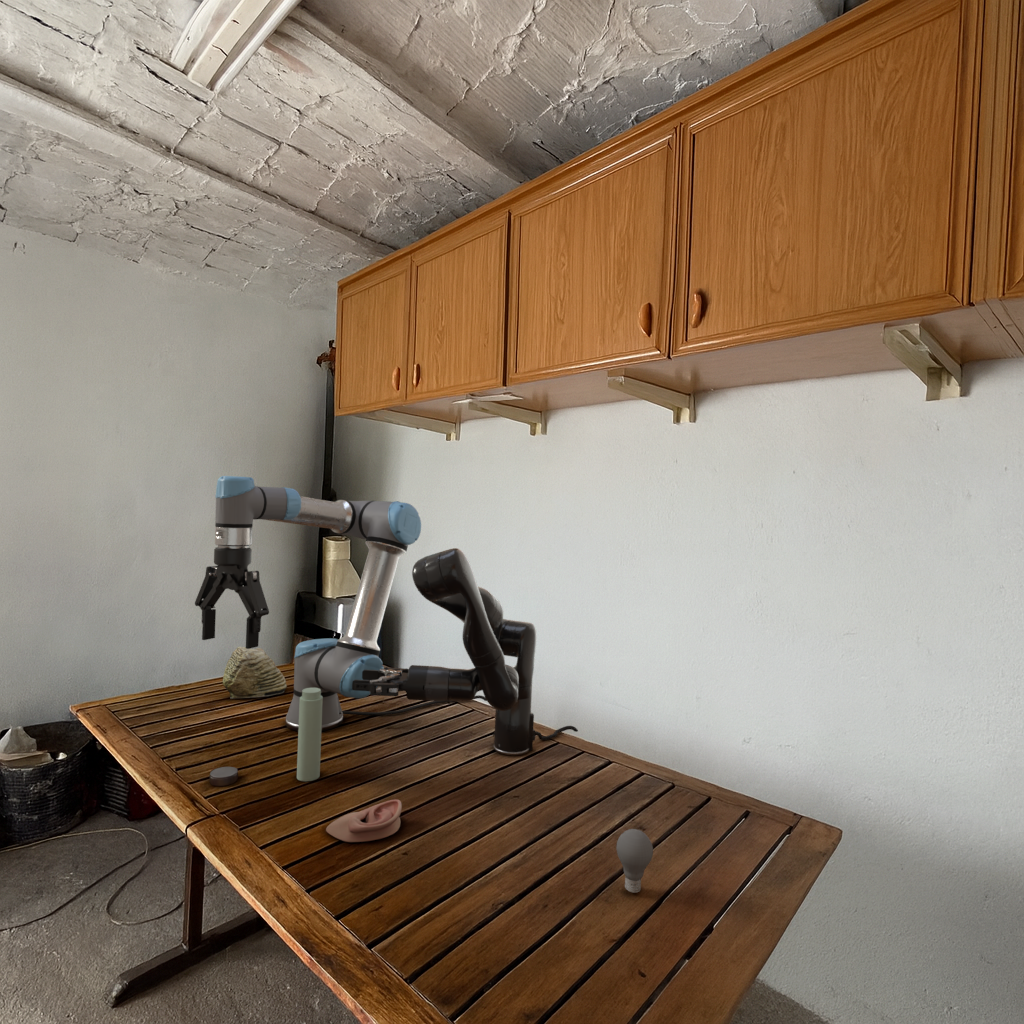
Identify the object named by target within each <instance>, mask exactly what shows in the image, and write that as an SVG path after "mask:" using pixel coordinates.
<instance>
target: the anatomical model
mask: <svg viewBox="0 0 1024 1024" xmlns="http://www.w3.org/2000/svg"><path fill="white" fill-rule="evenodd" d="M402 808H403V804H402V802H401V800H399V799H391V800H387V801H383V802H380V803H377V804H374V805H372V806H370V807H367V808H365V809H362V810H360V811H353V812H350V813H347V814H344V815H342V816H340V817H338V818H337V819H335V820H333V821H332V822H330V823H329V825H327V826H326V828H325V832H326V833H327V834H329V835H330V836H332V837H333V838H335V839H338V840H340V841H342V842H345V843H360V842H361V843H363V842H371V841H375V840H381V839H384V838H387V837H389V836H392V835H394V834H395V833H397V832H398V831H399V829H400V827H401V824H402V823H401V817H400V816H401V813H402Z"/></svg>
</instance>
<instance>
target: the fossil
mask: <svg viewBox="0 0 1024 1024" xmlns="http://www.w3.org/2000/svg"><path fill="white" fill-rule="evenodd" d="M222 676H223V677H222V685H223V687H224V688H225V690H226V691H228V693H229V698H230V699H250V698H264V697H271V696H275V695H281V694H284V693H285V691H286V689H287V687H288V686H287V680H286V678H285V676H284V674H283V673H282V672H281V669H279V668H278V667H277V665H276V663H275V662H274V660H273V659H272V658H271V657H270V656H269V655H268V654H267V653H266V652H265V650H264V649H263V648H260V647H256V648H250V649H246V646H238V647H237V648H236V649H235V650H233V651H232V653H231V656H230V657H229V659H228V660H227V663H226V666H225V668H224V671H223V675H222Z"/></svg>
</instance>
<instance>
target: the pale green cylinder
mask: <svg viewBox="0 0 1024 1024" xmlns="http://www.w3.org/2000/svg"><path fill="white" fill-rule="evenodd" d="M322 703H323V697H322V696H321V689H319V688H306V689H303V690H302V696H301V697H300V702H299V729H298V731H297V733H298V734H297V758H296V779H297V780H298V781H300V782H312V781H316V780H317V779H319V778H320V775H321V753H322V752H321V750H322V731H321V729H322Z"/></svg>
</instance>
